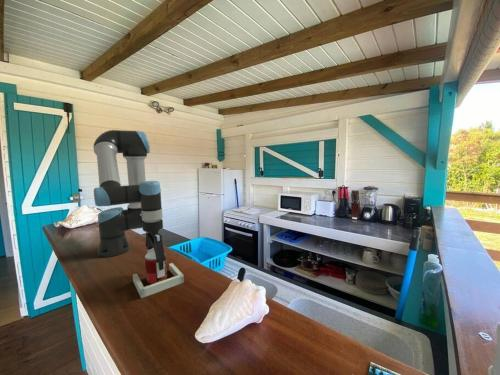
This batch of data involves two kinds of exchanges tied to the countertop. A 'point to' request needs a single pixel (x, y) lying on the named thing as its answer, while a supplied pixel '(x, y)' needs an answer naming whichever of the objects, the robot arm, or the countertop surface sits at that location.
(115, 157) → the robot arm
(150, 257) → the canned food
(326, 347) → the countertop surface
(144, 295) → the bay
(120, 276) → the countertop surface
